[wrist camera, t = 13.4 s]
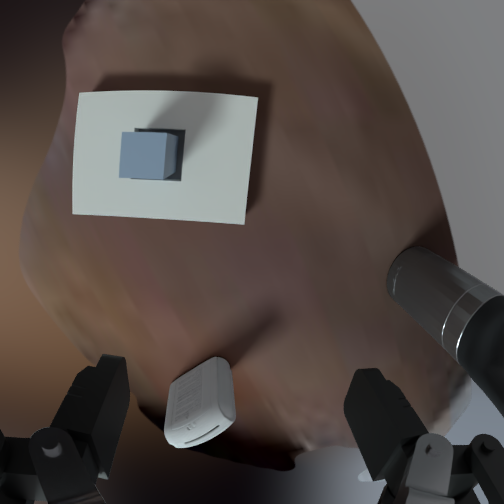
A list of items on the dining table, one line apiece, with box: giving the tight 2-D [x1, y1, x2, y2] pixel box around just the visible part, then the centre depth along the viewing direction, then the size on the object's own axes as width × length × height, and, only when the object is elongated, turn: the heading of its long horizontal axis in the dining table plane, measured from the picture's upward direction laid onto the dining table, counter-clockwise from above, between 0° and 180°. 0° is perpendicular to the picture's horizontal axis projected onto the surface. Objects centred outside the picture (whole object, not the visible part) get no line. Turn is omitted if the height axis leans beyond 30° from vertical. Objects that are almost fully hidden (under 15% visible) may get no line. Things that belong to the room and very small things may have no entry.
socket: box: [73, 90, 258, 224], centre depth 33 cm, size 20×14×3 cm
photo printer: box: [164, 357, 236, 448], centre depth 39 cm, size 10×4×12 cm, turn 127°
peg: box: [119, 132, 179, 180], centre depth 29 cm, size 4×4×9 cm
